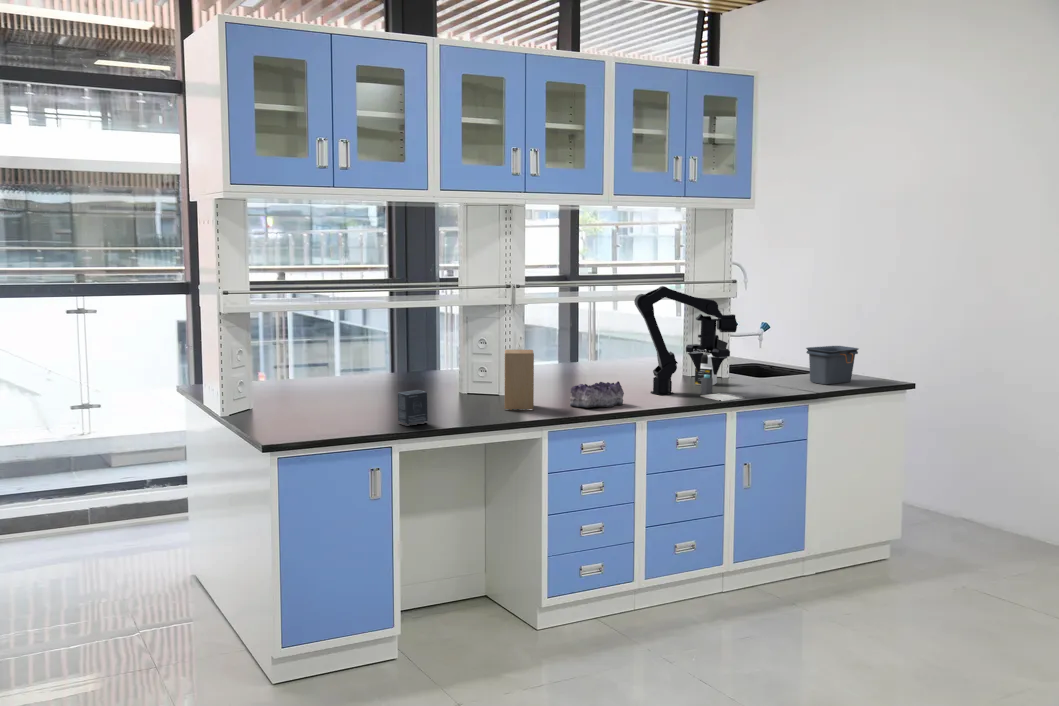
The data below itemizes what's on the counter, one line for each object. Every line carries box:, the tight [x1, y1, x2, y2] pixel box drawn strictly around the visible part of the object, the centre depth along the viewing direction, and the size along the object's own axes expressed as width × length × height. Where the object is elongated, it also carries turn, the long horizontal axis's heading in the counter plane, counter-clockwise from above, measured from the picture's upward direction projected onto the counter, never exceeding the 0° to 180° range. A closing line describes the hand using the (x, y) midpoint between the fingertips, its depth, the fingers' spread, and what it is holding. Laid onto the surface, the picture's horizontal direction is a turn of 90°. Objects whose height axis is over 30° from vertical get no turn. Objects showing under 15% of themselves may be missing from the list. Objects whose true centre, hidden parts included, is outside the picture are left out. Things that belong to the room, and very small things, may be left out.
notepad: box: [700, 392, 745, 402], centre depth 363 cm, size 11×12×1 cm
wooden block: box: [504, 349, 535, 411], centre depth 339 cm, size 10×10×20 cm
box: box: [397, 389, 429, 424], centre depth 311 cm, size 8×6×11 cm
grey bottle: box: [700, 374, 714, 395], centre depth 371 cm, size 3×3×7 cm
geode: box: [569, 381, 625, 409], centre depth 345 cm, size 20×12×10 cm, turn 119°
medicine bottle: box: [694, 353, 718, 386], centre depth 393 cm, size 7×7×12 cm
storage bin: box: [805, 345, 860, 385], centre depth 399 cm, size 21×16×14 cm
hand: (706, 373), depth 371 cm, fingers open, 9 cm apart
